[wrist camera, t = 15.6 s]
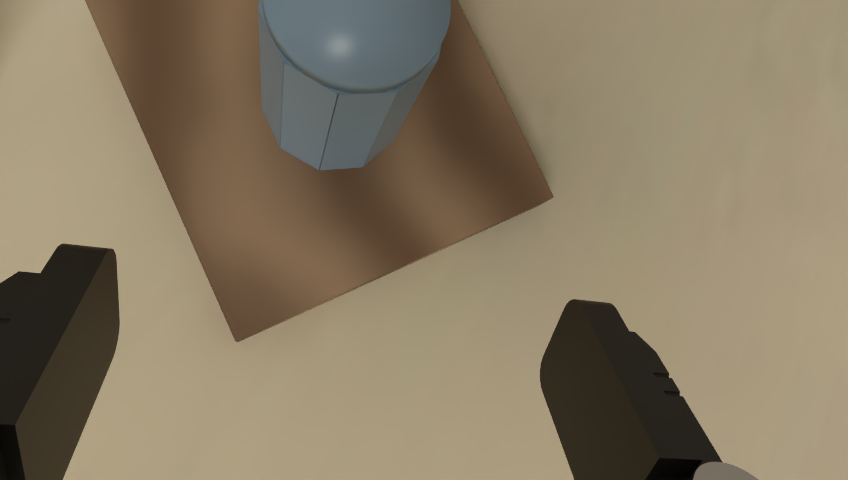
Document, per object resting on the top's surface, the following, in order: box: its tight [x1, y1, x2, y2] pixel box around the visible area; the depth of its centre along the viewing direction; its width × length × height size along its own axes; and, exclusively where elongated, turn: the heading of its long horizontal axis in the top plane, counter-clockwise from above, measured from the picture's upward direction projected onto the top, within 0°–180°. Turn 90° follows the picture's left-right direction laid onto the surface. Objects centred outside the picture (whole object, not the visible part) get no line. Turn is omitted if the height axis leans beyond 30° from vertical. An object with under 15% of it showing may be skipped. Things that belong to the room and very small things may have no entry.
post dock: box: [85, 0, 554, 342], centre depth 26 cm, size 16×16×8 cm
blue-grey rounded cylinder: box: [258, 0, 451, 170], centre depth 24 cm, size 6×6×9 cm
